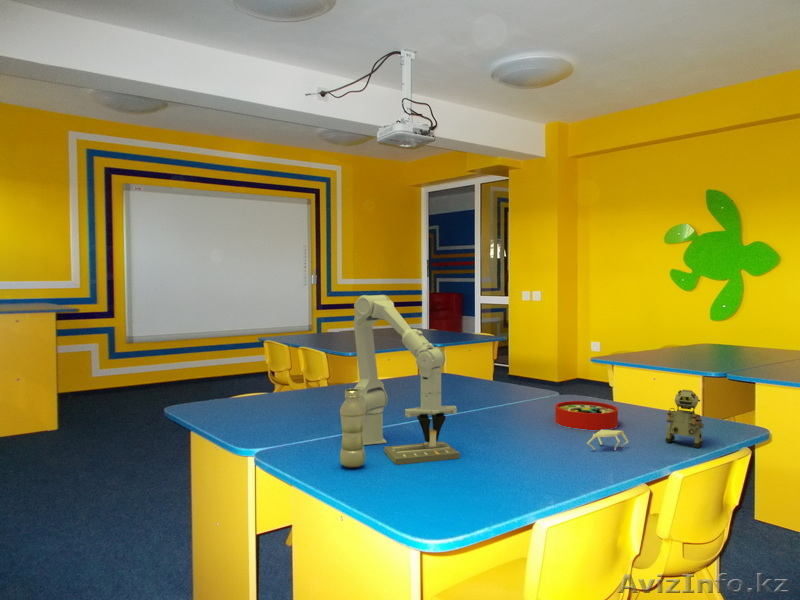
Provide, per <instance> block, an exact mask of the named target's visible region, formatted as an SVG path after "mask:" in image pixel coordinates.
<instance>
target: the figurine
mask: <svg viewBox="0 0 800 600" xmlns="http://www.w3.org/2000/svg"><path fill="white" fill-rule="evenodd" d="M674 402H675V405H676V407H677V409H675V408H674V407H670V408H669V410H667V418H666V422H667V423H668V424H667V426H666V435H665V436H666V437H665V442H666V443H667V442H671V441H673V440H674V441H675V439H676V436H675V435H680V436H685V437H693V438H694V442H693V447H694V448H696V449H698V448H700V447H701V446H703V444H704V442H703V441H704V440H703V433H702V432H703V431H702V429H704V428H705V427H704V426H705V423H703V422H702V421H703V419H702V417H701V415H700V414H698V413H696V412H695V409H696V407H697V405H698V404H699V402H701V399H699V396H698V395H697V393H695V392H694V391H693V390H691V389H682V390H681V389H679V390H678V392H677V394H675V397H674ZM679 408H680V409H679ZM672 409H673V410H672ZM683 409H684V410H683ZM674 441H673V442H674ZM671 443H672V442H671Z"/></svg>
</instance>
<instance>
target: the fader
mask: <svg viewBox="0 0 800 600" xmlns="http://www.w3.org/2000/svg"><path fill="white" fill-rule="evenodd" d="M436 433H437V431H436V430H434V429H433V427H430V428H429V435H430V440H429V442H426V441H425V443H426V444H423V449H434V448H440V446H439V445H438V444H437V443H436V442H437V441H436Z"/></svg>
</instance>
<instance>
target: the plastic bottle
mask: <svg viewBox="0 0 800 600" xmlns="http://www.w3.org/2000/svg"><path fill="white" fill-rule="evenodd" d="M359 397H360V395H359V390H358V389H354V388H346V389H344V398H345V400H344V401H343V402H342V404H341V406H340V409H339V415H340V422H341V423H340V424H341V431H342V432H341V436H342V437H341V449H340V453H339V461H340V464H341V465H342V466H343V467H345V468H350V469H353V468H359V467H362V466H363V465H364V463H365V460H366V452H365V451H366V450H365V447H364V446H365V445H363V422H364V414H365V409H364V406H363V404H362V403H361V402H360V400H359Z"/></svg>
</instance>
